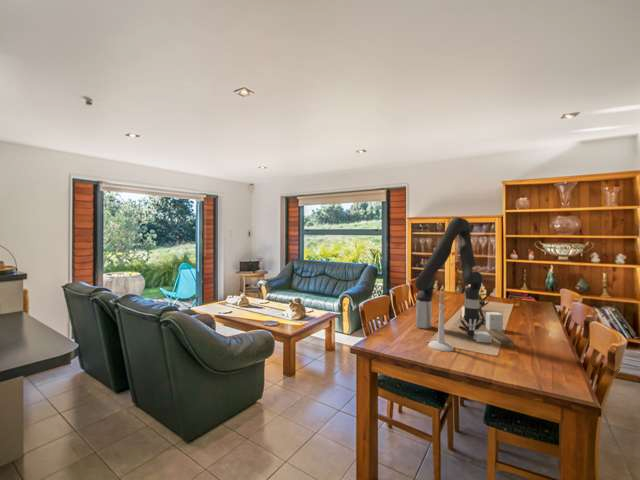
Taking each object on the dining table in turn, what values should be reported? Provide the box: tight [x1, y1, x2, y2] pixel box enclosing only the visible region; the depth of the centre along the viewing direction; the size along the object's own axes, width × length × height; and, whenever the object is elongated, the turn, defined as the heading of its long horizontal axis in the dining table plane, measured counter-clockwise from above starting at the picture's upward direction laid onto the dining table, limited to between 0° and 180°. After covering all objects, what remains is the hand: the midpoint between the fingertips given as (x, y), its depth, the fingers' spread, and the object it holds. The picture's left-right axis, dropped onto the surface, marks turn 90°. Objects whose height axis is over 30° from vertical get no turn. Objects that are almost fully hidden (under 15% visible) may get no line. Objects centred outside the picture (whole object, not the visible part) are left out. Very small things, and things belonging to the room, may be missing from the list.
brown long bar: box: [489, 329, 514, 348], centre depth 176 cm, size 4×20×4 cm, turn 173°
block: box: [472, 330, 493, 343], centre depth 177 cm, size 8×8×4 cm
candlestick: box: [427, 291, 455, 353], centre depth 165 cm, size 13×13×30 cm
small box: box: [485, 311, 504, 332], centre depth 195 cm, size 8×6×10 cm
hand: (471, 336), depth 178 cm, fingers closed
